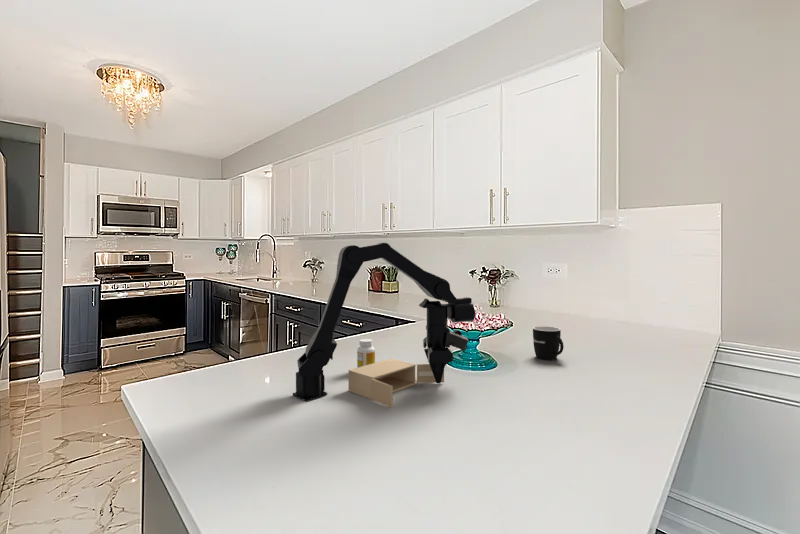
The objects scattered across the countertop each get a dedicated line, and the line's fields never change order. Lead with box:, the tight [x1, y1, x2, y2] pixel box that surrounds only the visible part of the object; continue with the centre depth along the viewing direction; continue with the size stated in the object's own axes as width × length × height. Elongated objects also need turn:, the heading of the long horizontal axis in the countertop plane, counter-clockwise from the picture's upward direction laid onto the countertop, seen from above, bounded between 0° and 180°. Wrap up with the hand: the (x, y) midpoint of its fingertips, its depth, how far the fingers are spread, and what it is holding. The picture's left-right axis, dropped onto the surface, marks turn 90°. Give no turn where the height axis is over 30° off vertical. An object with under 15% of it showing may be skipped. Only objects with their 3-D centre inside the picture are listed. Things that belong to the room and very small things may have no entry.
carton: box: [347, 358, 417, 399], centre depth 114 cm, size 16×10×6 cm, turn 137°
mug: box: [532, 325, 564, 361], centre depth 143 cm, size 12×9×10 cm
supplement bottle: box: [356, 338, 376, 368], centre depth 128 cm, size 5×5×10 cm
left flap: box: [370, 379, 394, 408], centre depth 101 cm, size 8×1×5 cm, turn 42°
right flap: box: [416, 363, 445, 384], centre depth 117 cm, size 8×1×5 cm, turn 92°
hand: (436, 379), depth 117 cm, fingers open, 7 cm apart
